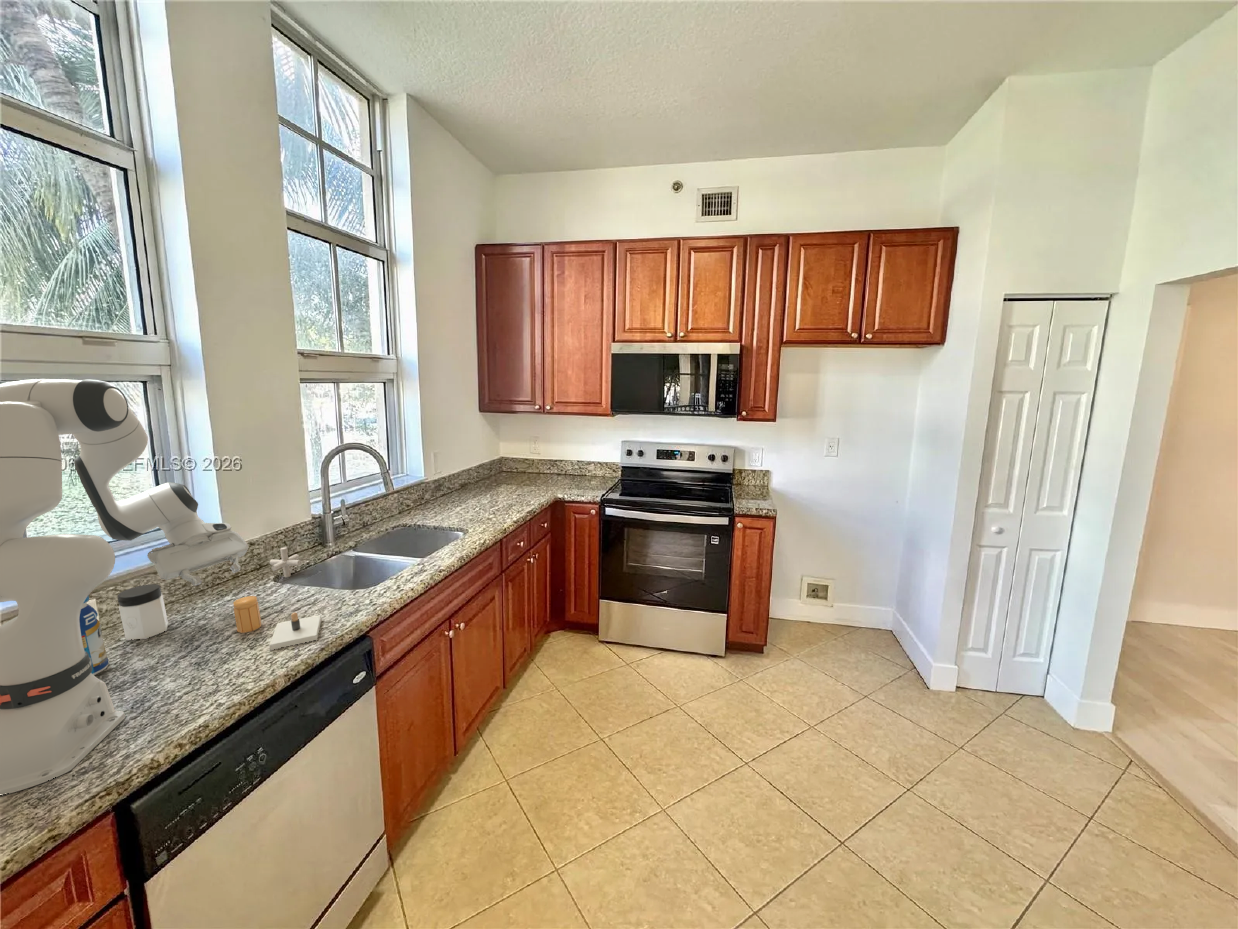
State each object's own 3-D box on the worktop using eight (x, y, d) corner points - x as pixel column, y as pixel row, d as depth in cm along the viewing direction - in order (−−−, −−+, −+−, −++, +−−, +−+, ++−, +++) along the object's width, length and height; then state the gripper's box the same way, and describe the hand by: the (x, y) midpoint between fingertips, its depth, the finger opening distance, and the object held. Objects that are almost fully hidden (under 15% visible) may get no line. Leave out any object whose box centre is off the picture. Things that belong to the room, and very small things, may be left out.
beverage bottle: (47, 680, 110) (26, 598, 107) (95, 659, 118) (77, 582, 114) (71, 687, 108) (50, 603, 104) (119, 665, 116) (101, 586, 112)
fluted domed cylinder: (259, 629, 131) (254, 602, 130) (236, 634, 129) (231, 606, 127) (262, 621, 136) (258, 594, 134) (240, 625, 133) (235, 598, 132)
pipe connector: (311, 570, 170) (308, 543, 168) (290, 583, 160) (285, 554, 158) (285, 570, 171) (281, 542, 169) (262, 582, 161) (257, 553, 159)
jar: (115, 642, 126) (105, 598, 124) (141, 626, 134) (132, 585, 132) (154, 639, 127) (145, 596, 125) (177, 623, 135) (169, 582, 133)
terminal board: (317, 640, 126) (314, 618, 124) (270, 650, 121) (266, 627, 120) (321, 619, 136) (318, 599, 135) (278, 628, 132) (275, 607, 131)
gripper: (146, 544, 125) (175, 586, 123) (235, 521, 144) (261, 557, 142) (141, 558, 128) (168, 599, 126) (228, 534, 146) (253, 570, 144)
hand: (218, 577), depth 134 cm, fingers open, 8 cm apart
